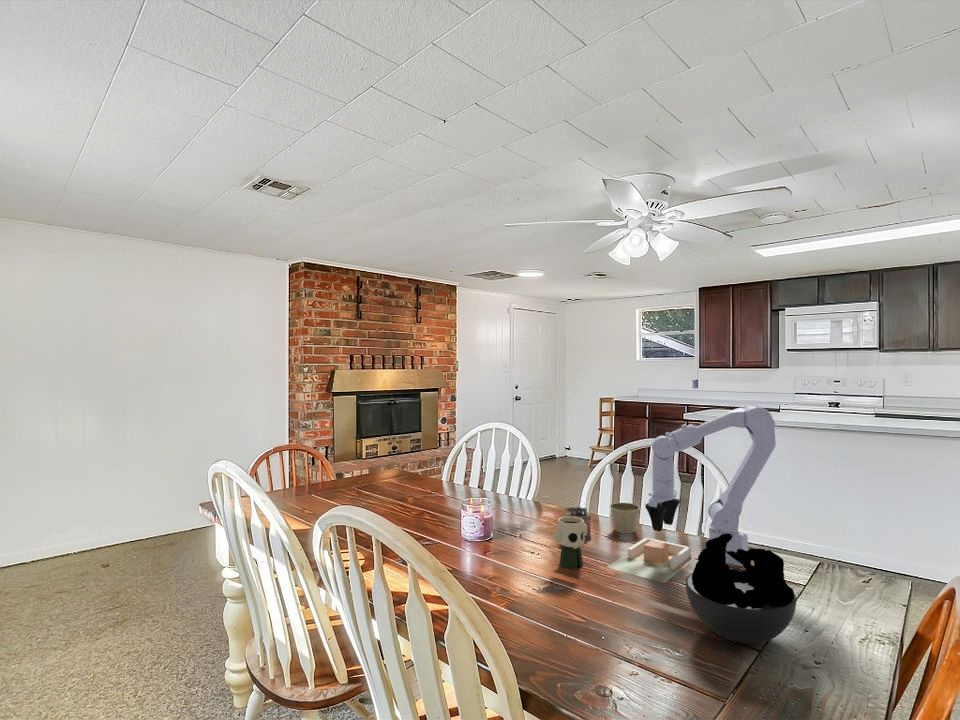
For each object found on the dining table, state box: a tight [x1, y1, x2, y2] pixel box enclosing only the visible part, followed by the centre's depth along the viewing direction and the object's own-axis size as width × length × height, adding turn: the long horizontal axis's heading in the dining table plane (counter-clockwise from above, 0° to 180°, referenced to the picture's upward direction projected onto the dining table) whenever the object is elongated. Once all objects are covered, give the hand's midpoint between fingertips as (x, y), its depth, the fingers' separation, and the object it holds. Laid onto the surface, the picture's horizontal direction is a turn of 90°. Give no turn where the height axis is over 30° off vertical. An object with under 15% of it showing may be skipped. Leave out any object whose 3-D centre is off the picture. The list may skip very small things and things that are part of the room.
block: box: [644, 540, 669, 564], centre depth 149 cm, size 5×5×4 cm
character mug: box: [553, 516, 587, 570], centre depth 146 cm, size 11×7×13 cm, turn 120°
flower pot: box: [609, 502, 641, 534], centre depth 174 cm, size 9×9×9 cm
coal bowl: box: [684, 533, 797, 645], centre depth 108 cm, size 20×20×19 cm
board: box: [605, 551, 697, 584], centre depth 146 cm, size 16×22×1 cm
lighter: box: [564, 505, 592, 541], centre depth 169 cm, size 8×3×10 cm, turn 84°
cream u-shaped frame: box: [627, 537, 692, 569], centre depth 150 cm, size 13×12×2 cm
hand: (662, 527), depth 153 cm, fingers open, 7 cm apart
